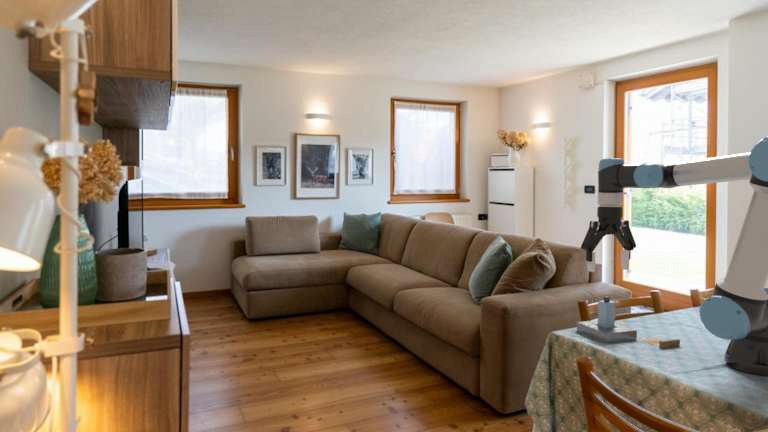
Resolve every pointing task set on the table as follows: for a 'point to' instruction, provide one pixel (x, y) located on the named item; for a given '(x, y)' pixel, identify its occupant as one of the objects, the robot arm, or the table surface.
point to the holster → (662, 342)
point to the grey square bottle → (606, 313)
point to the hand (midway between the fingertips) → (608, 270)
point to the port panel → (607, 332)
